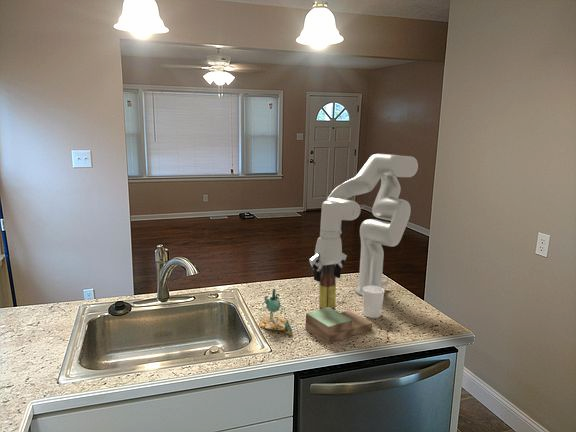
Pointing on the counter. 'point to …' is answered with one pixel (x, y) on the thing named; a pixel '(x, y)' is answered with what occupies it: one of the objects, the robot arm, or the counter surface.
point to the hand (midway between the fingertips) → (327, 278)
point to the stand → (335, 324)
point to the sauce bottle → (327, 288)
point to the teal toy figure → (274, 322)
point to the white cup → (372, 301)
